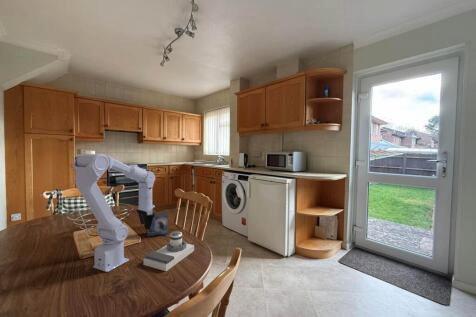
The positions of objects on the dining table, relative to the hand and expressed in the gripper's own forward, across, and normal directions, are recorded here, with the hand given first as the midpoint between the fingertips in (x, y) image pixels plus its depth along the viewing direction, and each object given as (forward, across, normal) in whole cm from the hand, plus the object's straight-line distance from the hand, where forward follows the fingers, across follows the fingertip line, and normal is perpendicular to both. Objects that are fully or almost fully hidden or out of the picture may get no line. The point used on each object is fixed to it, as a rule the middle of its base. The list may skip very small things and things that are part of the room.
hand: (145, 226), depth 98 cm
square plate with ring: (+9, -16, -6) cm, 20 cm away
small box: (+10, +12, -9) cm, 18 cm away
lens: (+7, -14, -9) cm, 18 cm away
